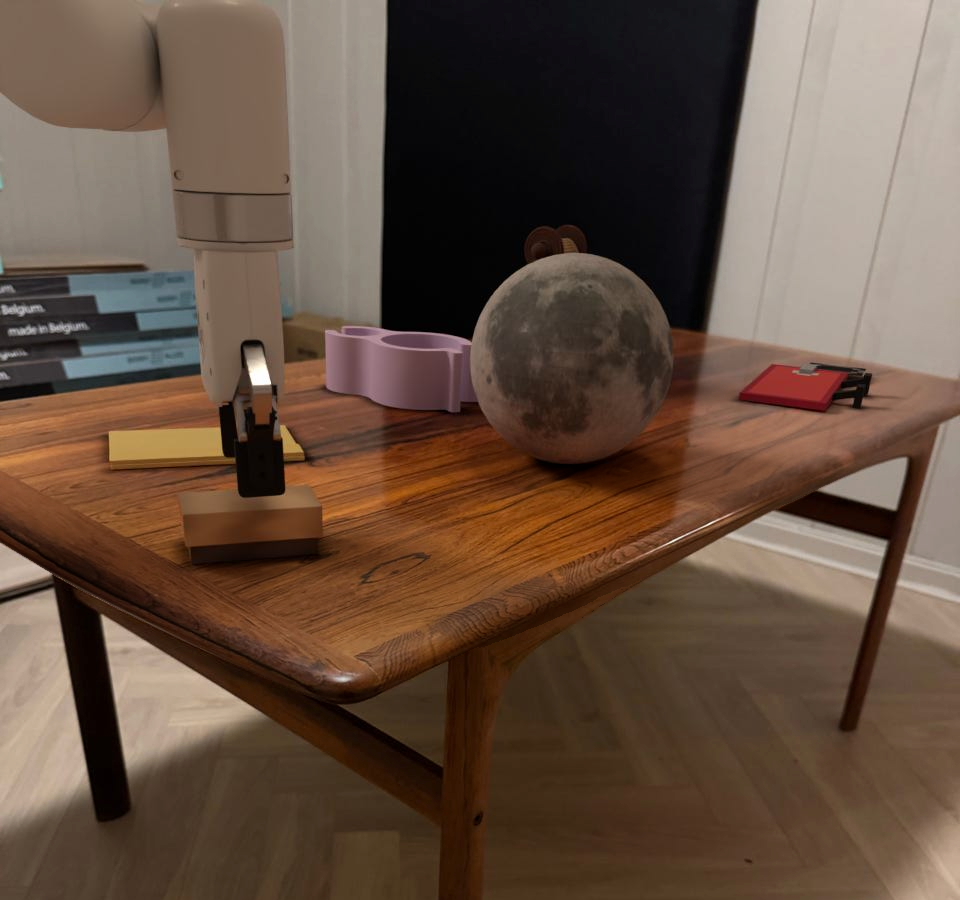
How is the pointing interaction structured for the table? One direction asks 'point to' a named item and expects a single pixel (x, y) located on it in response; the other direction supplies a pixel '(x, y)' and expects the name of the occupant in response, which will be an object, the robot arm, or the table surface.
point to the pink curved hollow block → (400, 367)
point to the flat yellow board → (179, 448)
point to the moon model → (571, 358)
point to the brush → (250, 525)
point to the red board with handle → (807, 385)
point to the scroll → (554, 242)
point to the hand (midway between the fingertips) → (252, 474)
